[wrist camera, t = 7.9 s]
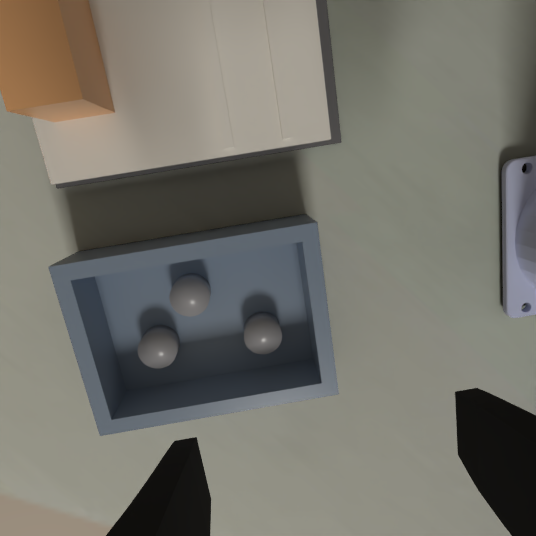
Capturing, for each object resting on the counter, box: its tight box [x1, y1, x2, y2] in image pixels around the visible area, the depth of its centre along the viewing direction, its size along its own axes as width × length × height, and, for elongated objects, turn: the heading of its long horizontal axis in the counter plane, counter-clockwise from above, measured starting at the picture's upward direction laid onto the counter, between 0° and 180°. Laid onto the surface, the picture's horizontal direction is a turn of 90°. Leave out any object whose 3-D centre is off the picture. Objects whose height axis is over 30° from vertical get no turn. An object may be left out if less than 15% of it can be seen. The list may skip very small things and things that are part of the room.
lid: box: [0, 0, 331, 184], centre depth 15 cm, size 12×9×5 cm
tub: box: [49, 214, 339, 436], centre depth 19 cm, size 11×8×3 cm
